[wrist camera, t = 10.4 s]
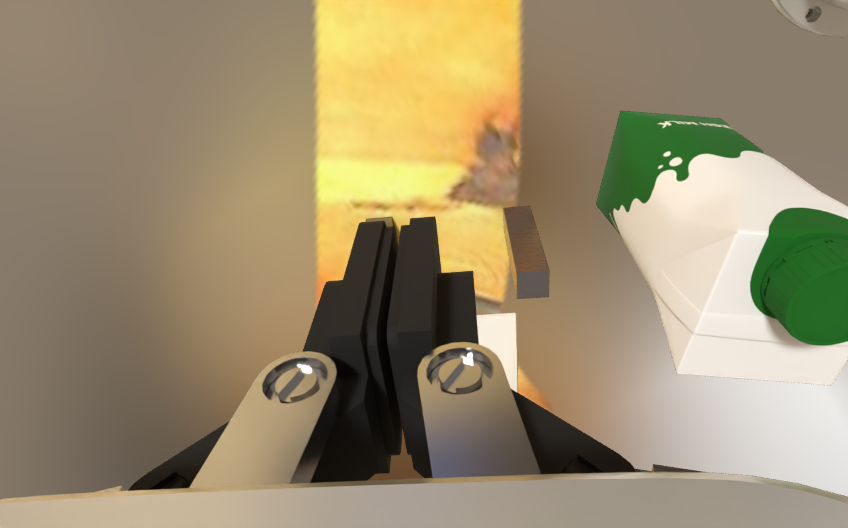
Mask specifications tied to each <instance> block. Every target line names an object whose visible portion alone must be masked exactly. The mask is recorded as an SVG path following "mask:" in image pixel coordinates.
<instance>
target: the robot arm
mask: <svg viewBox="0 0 848 528" xmlns="http://www.w3.org/2000/svg"><path fill="white" fill-rule="evenodd" d="M771 2H772V3H773V4H774V6H775V8H776V9H777V10H778V12H779V13H780V14H781V15H783V16H784V17H785V18H786V19H787V20H788V21H790V22H791V23H793V24H794V25H797V26H798V27H801V28H803V29H805V30H807V31H810V32H814V33H818V34H821V35H825V36H835V37H848V0H771ZM808 10H809V12H808V14H807V15H806V13H807V11H808ZM805 15H806V16H805ZM402 431H403V432H404V438H405V443H406V449H407V453H408V454H409V455H411V456H412V462H413V467H414V469H415V470H416V471H417V472H418V473H419V474H420V475H422V476H423V477H424V479H397V480H372V481H367V480H368V479H370V478H371V477H372V476H373V475H374V474H378V473H389V471H390V461H391V455H399V454H400V453H401V443H402ZM0 528H848V497H846V496H843V495H839V494H835V493H831V492H828V491H824V490H821V489H817V488H813V487H810V486H805V485H802V484H798V483H792V482H786V481H780V480H774V479H768V478H763V477H757V476H748V475H736V474H723V473H709V472H701V471H694V470H688V469H681V468H675V467H668V466H662V465H655V464H653V468H652V471H646V470H640V469H634V467H633V466H632V465H631V463H629V462H628V461H627V460H626V459H624V458H623V457H622V456H621V455H619V454H618V453H616V452H615V451H613V450H611V449H610V448H608V447H607V446H605V445H603V444H602V443H600V442H598V441H596V440H595V439H593V438H592V437H590V436H588V435H587V434H585V433H583V432H582V431H580V430H578V429H577V428H575V427H573V426H572V425H570V424H568V423H567V422H565V421H563V420H562V419H560V418H558V417H557V416H555V415H554V414H552V413H550V412H549V411H547V410H545V409H544V408H542V407H540V406H539V405H537V404H535V403H534V402H532V401H530V400H529V399H527V398H525V397H524V396H522V395H520V394H519V393H517V392H516V391H514V390H512V389H511V388H510V385H509V382H508V379H507V377H506V374H505V371H504V368H503V365H502V363H501V361H500V359H499V358H498V356H497V355H496V354H495V353H494V352H492V351H491V350H490V349H489V348H487V347H484V346H482V345H479V340H478V328H477V315H476V303H475V290H474V278H473V271H465V272H451V273H441V264H440V255H439V245H438V236H437V226H436V219H435V217H424V218H411V219H410V225H404V226H401V231H400V238H399V245H398V242H397V235H396V230H395V227H394V226H391V227H387V226H386V223H385V221H374V222H361V223H359V226H358V229H357V233H356V236H355V240H354V243H353V247H352V250H351V254H350V257H349V261H348V264H347V268H346V271H345V275H344V278H343V280H339V281H328V282H326V284H325V286H324V289H323V292H322V295H321V298H320V301H319V304H318V307H317V310H316V313H315V316H314V319H313V322H312V325H311V328H310V331H309V334H308V337H307V340H306V343H305V346H304V349H303V352H296V353H293V354H289V355H285V356H283V357H281V358H279V359H277V360H275V361H273V362H272V363H271V364H269V365H268V366H267V367H265V368H264V369H263V371H262V372H261V373H260V374H259V375H258V377H257V378H256V380H255V381H254V383H253V384H252V386H251V388H250V389H249V391H248V393H247V394H246V396H245V398H244V399H243V401H242V402H241V404H240V406H239V407H238V409H237V411H236V412H235V414H234V416H233V417H232V419H231V420H230V421H229V422H227V423H226V424H224V425H223V426H221V427H220V428H218V429H217V430H215V431H213V432H212V433H210V434H209V435H207V436H206V437H204V438H202V439H201V440H199V441H198V442H196V443H194V444H193V445H191V446H190V447H188V448H186V449H185V450H183V451H182V452H180V453H179V454H177V455H175V456H174V457H172V458H171V459H169V460H168V461H166V462H164V463H163V464H161V465H160V466H158V467H156V468H155V469H153V470H152V471H150V472H149V473H147V474H146V475H144V476H143V477H142V478H141V479H139V480H138V481H137V482H135V483H134V484H133V485H132V486H131V488H130V489H129V490H128V491H124V490H123V488H122V486H119V487H114V488H110V489H106V490H101V491H97V492H93V493H78V494H60V495H45V496H33V497H21V498H9V499H0Z"/></svg>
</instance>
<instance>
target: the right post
mask: <svg viewBox="0 0 848 528" xmlns="http://www.w3.org/2000/svg"><path fill="white" fill-rule="evenodd" d="M503 215H504V234H505V239H506V244H507V249H508V255H509V260H510V265H511V270H512V275H513V281H514V286H515V291H516V296H517V299H525V298H540V297H549V267H548V264H547V261H546V257H545V255H544V251H543V248H542V244H541V241H540V237H539V234H538V231H537V228H536V224H535V221H534V218H533V215H532V211H531V208H530V206H521V207H509V208H503Z"/></svg>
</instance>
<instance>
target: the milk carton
mask: <svg viewBox="0 0 848 528" xmlns="http://www.w3.org/2000/svg"><path fill="white" fill-rule="evenodd" d="M596 205H597V207H598V208H599V209H600V210H601V211H602V213H603V214H604V215H605V216H606V218H607V219H608V220H609V221H610V223H611V224H612V225H613V226H614V227H615V229H616V230H617V231H618V233H619V234H620V236H621V238H622V240H623V241H624V243H625V245H626V247H627V248H628V250H629V252H630V254H631V256H632V257H633V259H634V261H635V263H636V265H637V266H638V268H639V270H640V271H641V273H642V275H643V277H644V279H645V281H646V282H647V284H648V286H649V288H650V290H651V292H652V293H653V295H654V297H655V300H656V303H657V306H658V310H659V313H660V317H661V320H662V324H663V327H664V331H665V334H666V338H667V341H668V345H669V348H670V352H671V355H672V359H673V362H674V366H675V370H676V373H677V374H684V375H696V376H710V377H724V378H736V379H750V380H763V381H777V382H790V383H804V384H818V385H832V384H833V383H834V381H835V380H836V378H837V377H838V375H839V373H840V372H841V370H842V369H843V367H844V366H845V364H846V362H847V361H848V206H846V205H844V204H842V203H840V202H838V201H837V200H835V199H833V198H831V197H829V196H827V195H825V194H824V193H822V192H820V191H819V190H817V189H816V188H814V187H813V186H812V185H810V184H809V183H807V182H806V181H805V180H803V179H801V178H800V177H799V176H797V175H796V174H795V173H793V172H792V171H791V170H789V169H788V168H786V167H785V166H783V165H782V164H781V163H779V162H778V161H777V160H775V159H774V158H772V157H771V156H769V155H768V154H767V153H765V152H764V151H763V150H761V149H759V148H758V147H757V146H756V145H754V144H753V143H751V142H750V141H749V140H747V139H746V138H744V137H743V136H742V135H740V134H739V133H738V132H737V131H735V130H734V129H733V128H732V127H731V126H729V125H728V124H727V123H726V122H724V121H723V120H722V119H720V118H706V117H695V116H682V115H669V114H657V113H643V112H631V111H620V114H619V118H618V122H617V126H616V130H615V134H614V137H613V141H612V145H611V149H610V153H609V156H608V160H607V164H606V168H605V172H604V176H603V179H602V183H601V187H600V191H599V195H598V199H597V203H596Z"/></svg>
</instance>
